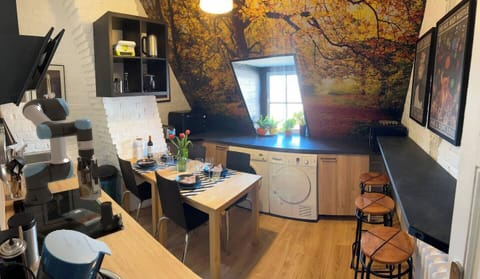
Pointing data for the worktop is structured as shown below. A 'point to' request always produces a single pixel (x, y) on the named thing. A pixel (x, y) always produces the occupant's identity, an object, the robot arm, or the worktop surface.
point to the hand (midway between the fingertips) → (90, 188)
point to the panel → (87, 217)
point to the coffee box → (87, 185)
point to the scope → (109, 217)
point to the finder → (76, 214)
